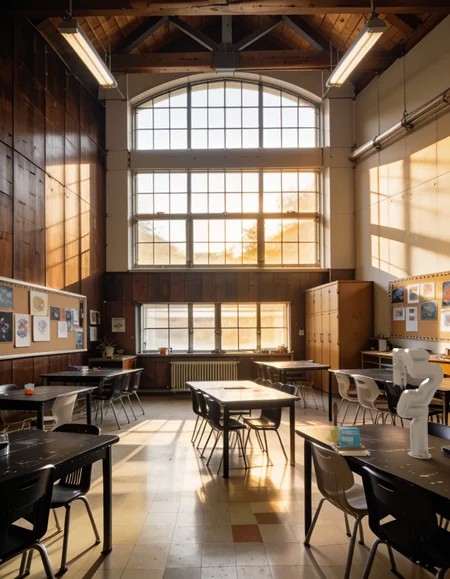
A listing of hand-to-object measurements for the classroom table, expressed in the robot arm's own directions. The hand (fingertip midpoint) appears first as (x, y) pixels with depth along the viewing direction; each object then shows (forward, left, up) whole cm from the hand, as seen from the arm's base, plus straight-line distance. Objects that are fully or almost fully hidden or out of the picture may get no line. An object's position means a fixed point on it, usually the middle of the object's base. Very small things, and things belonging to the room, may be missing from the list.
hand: (399, 393), depth 287 cm
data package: (-14, +38, -31) cm, 51 cm away
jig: (-14, +38, -33) cm, 52 cm away
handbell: (+13, +39, -33) cm, 53 cm away
